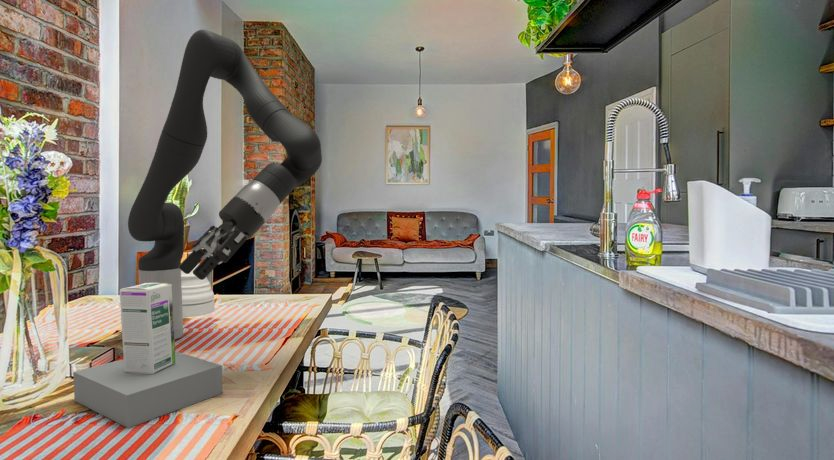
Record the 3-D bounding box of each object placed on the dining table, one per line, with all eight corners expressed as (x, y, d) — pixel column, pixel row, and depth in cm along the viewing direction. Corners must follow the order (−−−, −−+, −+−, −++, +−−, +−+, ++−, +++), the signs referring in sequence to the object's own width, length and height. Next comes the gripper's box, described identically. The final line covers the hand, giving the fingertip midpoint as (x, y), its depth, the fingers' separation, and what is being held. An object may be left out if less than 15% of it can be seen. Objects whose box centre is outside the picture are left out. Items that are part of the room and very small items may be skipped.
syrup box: (152, 375, 82) (149, 288, 82) (122, 372, 84) (118, 287, 83) (176, 363, 88) (173, 282, 87) (147, 361, 89) (144, 281, 88)
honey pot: (181, 307, 157) (179, 250, 155) (221, 307, 156) (220, 250, 155) (159, 317, 144) (156, 255, 143) (202, 317, 143) (200, 255, 142)
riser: (74, 400, 84) (73, 371, 84) (166, 373, 98) (165, 348, 97) (128, 428, 74) (126, 395, 74) (222, 393, 88) (221, 365, 87)
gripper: (223, 195, 99) (162, 256, 93) (251, 195, 89) (185, 264, 82) (249, 221, 103) (193, 281, 96) (279, 223, 92) (218, 292, 86)
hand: (189, 273), depth 89 cm, fingers open, 8 cm apart
